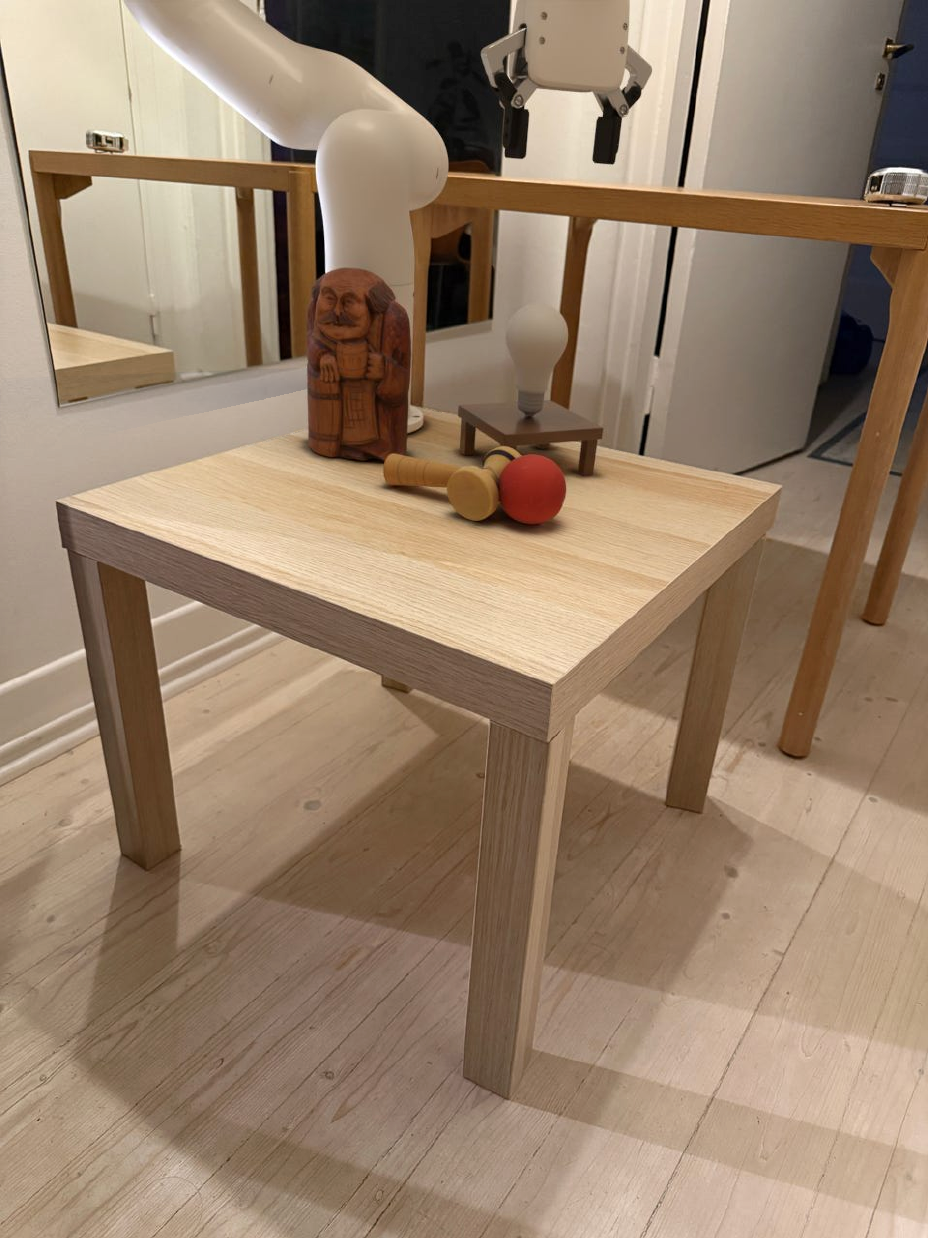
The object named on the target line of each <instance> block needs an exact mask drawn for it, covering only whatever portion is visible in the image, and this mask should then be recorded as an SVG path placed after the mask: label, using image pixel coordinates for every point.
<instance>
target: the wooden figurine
mask: <svg viewBox="0 0 928 1238" xmlns="http://www.w3.org/2000/svg"><path fill="white" fill-rule="evenodd" d="M311 297H312V298H311V299H310V300H309V301H308V305H307V307H306V322H305V323H306V325H305V326H306V336H305V337H306V358H307V363H306V376H307V377H306V379H307V382H306V387H307V390H306V394H307V397H306V399H307V425H308V426H307V430H308V433H307V434H308V435H307V439H308V446H309V448H310V449H311V450H312V451H313V452H314V453H316V454H318V455H321V456H324V457H329V458H335V457H339V458H344V459H347V460H353V459H355V460H357V461H368V460H380V461H383V462H385V460H386V458H387V457H388V456H389V455H390V454H393V453H394V454H400V455H404V456H405V454H406V453H407V450H408V433H407V427H408V391H409V384H410V368H411V337H410V323H409V318H408V314H407V312H406V310H405V309H404V308H403V307H402V306H401V305H400V304H399V303H398V302H396V301H395V299H396V297H395V295H394V293H393V291H392V290H391V289H390V287H389V286H388V285H387V284H386V283H385V282H384V280H382V279H381V278H380V277H379V276H378V275H376V274H374V273H372V272H370V271H367V270H364V269H359V268H338V269H335V270H332V271H330V272H327V273H324V274H322V275H321V276H320V277H319V278H318V279H316V280H315V282H314V285H312V288H311Z"/></svg>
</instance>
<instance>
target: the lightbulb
mask: <svg viewBox="0 0 928 1238" xmlns="http://www.w3.org/2000/svg"><path fill="white" fill-rule="evenodd" d="M505 342H506V347H507V349H508V352H509V355H510V357H511V360H512V362H513V365H514V368H515V375H516V389H517V392H518V393H517V402H518V409H519V410H520V411H522V412H523V413H524V415H526V416H534V415H535V414H536V413H538V412H540V411H541V410H542V407H543V403H544V402H543V401H544V400H545V394H546V392H547V391H548V387H549V383H550V378H551V375H552V373H553V370H554V369H555V366H556V365H557V364H558V363H559V360H560V359H561V357H562V355H563V354H564V352H565V351H566V348H567V345H568V342H569V329H568V324H567V322H566V320H565V318H564V316H563V315H562V314H561V312H559V311H558V310H557V309H556V308H555V307H553V306H551V305H549V304H546V303H542V302H535V303H528V304H526V305H525V306H522V307H521V308H519V309H518V310H517V311H516V312H515V313H514V314H513V315H512V316H511V318H510V319H509V321H508V324H507V326H506V330H505Z"/></svg>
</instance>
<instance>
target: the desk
mask: <svg viewBox="0 0 928 1238" xmlns="http://www.w3.org/2000/svg"><path fill="white" fill-rule="evenodd" d="M543 402H544V403H543V407H542V410H541V411H540V412H538V413H536V414H535V415H534V416H526V415H524V413H523V412H522V411H520V410H519V409H518V401H509V402H493V403H492V402H491V403H474V404H458V409H457V410H458V411H457V417H458V418H460V419H461V423H460V424H461V425H460V439H459V453H460V454H462V455H463V456H469V455H470V456H472V455H475V447H476V432H477V430H478V431H480V432H481V433H483V434H484V435H486V436H488V437H489V438H490V439H492V440H493V441H495V442H497V444H500V446H507V447H510V448H513V449H514V450H516V451H517V447H519V446H520V447H521V446H533V445H535V447H536V448H538V449H539V450H545V449H546V450H547V449H550V447H551V444H559V443H570V442H571V443H572V442H580V451H579V457H578V466H577V473H578V474H580V475H582V476H593V475H594V470H595V463H596V456H597V449H598V441H599V440H602V439H603V433H604V427H603V426H601V425H599V424H596V423H595V422H593V421H592V420H589V419H588V418H585V417H584V416H582V415H579V414H578V413H575V412H574V411H573V410H570V409H568V408H566V407H564V406H562V405H560V404H558V403H556V402H554V401H553V400H551V399H547V400H546V399H544V401H543ZM500 446H499V447H500Z"/></svg>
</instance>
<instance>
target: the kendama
mask: <svg viewBox="0 0 928 1238" xmlns="http://www.w3.org/2000/svg"><path fill="white" fill-rule="evenodd" d="M382 471H383V472H382V473H383V478H384V481H385V482H386V484H388V485H389V486H406V487H407V486H409V487H426V488H427V487H430V488H446V494H447V498H448V501H449V503H450V504H451V506H452V508H453V509H454V510H455V511H456V513H458V514H459V515H460V516H461V517H463V518H464V519H466V520H470V521H474V522H478V521H483V520H485V519H487V518H488V517H489V516H491V515H492V514H494V513H495V512H496V510H497V508H498V506H499V504H500V506H501V508H502V509H503V510H504V512H505V513H506V514H507V515H508V516H509V517H510V518H511V519H513V520H514V521H517V522H518V523H522V524H525V525H526V524H527V525H537V524H541V523H545V522H547V521H551V520H552V519H554V518H556V516H557V515H559V513H560V511H561V509H562V508H563V505H564V502H565V500H566V497H567V496H566V495H567V483H566V478H565V474H564V472H563V470H561V468H560V466H559V465H558V464H556V462H554V461H553V460H552V459H550V458H548V457H546V456H544V455H540V454H534V453H533V454H531V453H530V454H524V455H522V454H520V452H518V451H517V449H516V450H514V449H513V448H510V447H507V446H497V447H495V448H494V447H493V448H492V449H491V450H489V451H488V452H487V453H486V454H485V455H484V458H483V460H482V467H481V468H480V467H479V466H477V465H465V466H458V465H455V464H450V463H446V462H441V461H435V460H429V459H423V458H420V457H419V458H418V457H413V456H408V455H405V454H404V455H400V454H394V453H393V454H390V455H389V456H388V457H387V458H386V460H385V461H384V463H383V469H382Z"/></svg>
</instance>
